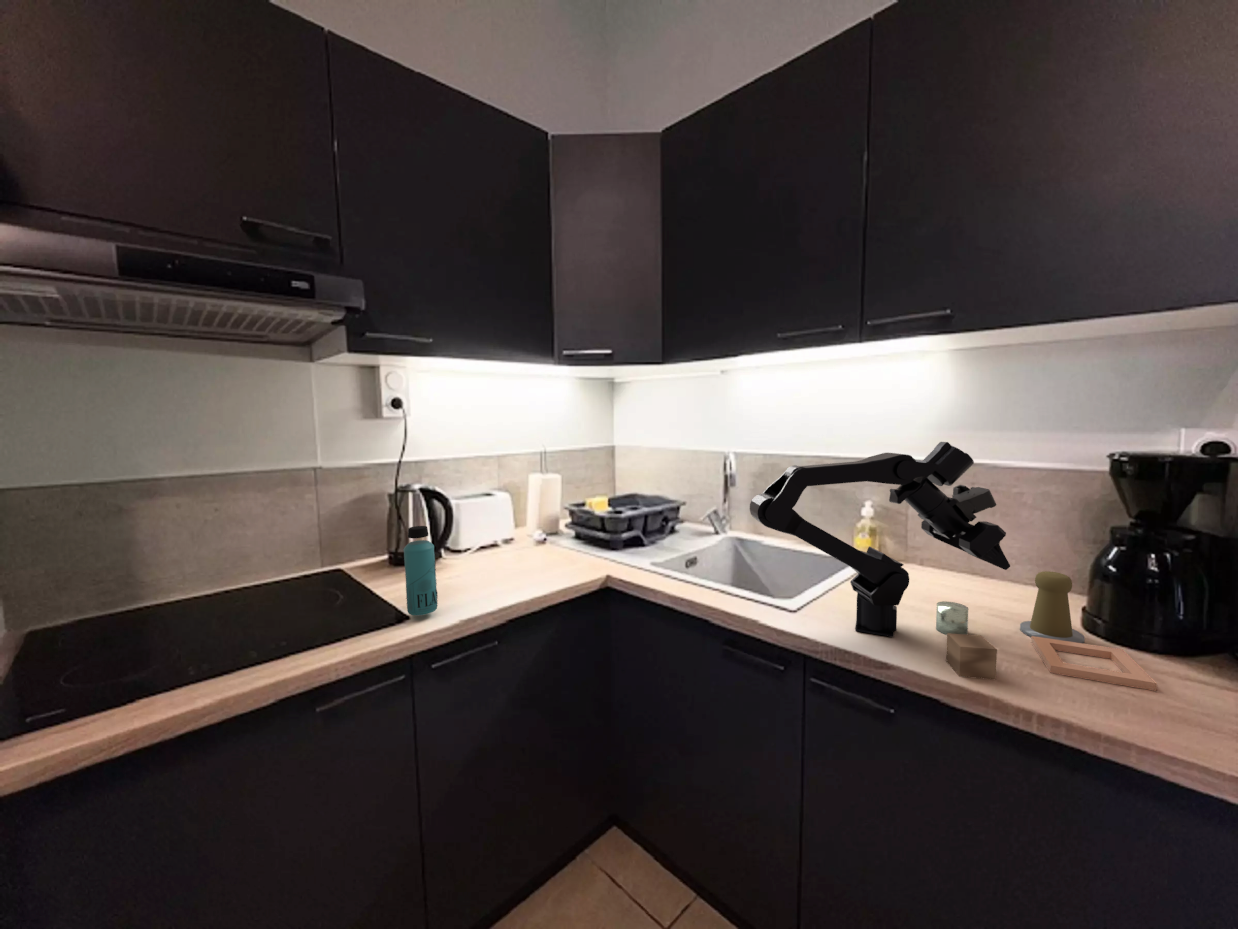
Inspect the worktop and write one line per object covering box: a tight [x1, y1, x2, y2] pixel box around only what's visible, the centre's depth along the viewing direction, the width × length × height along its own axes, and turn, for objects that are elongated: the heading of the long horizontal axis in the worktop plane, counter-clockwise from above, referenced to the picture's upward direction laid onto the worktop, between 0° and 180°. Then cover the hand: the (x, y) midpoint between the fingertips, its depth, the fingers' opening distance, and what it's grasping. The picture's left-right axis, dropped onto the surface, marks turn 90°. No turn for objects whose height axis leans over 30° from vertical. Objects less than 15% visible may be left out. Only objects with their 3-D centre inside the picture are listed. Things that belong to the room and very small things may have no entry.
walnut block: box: [945, 633, 998, 680], centre depth 79 cm, size 5×5×5 cm
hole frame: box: [1030, 636, 1158, 692], centre depth 80 cm, size 12×12×1 cm
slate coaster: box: [1019, 620, 1086, 644], centre depth 91 cm, size 9×9×1 cm
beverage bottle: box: [403, 525, 439, 616], centre depth 106 cm, size 6×7×20 cm
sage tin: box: [935, 600, 969, 636], centre depth 93 cm, size 5×5×5 cm
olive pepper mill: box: [1030, 570, 1073, 638], centre depth 90 cm, size 6×6×11 cm
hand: (991, 560), depth 92 cm, fingers open, 9 cm apart
